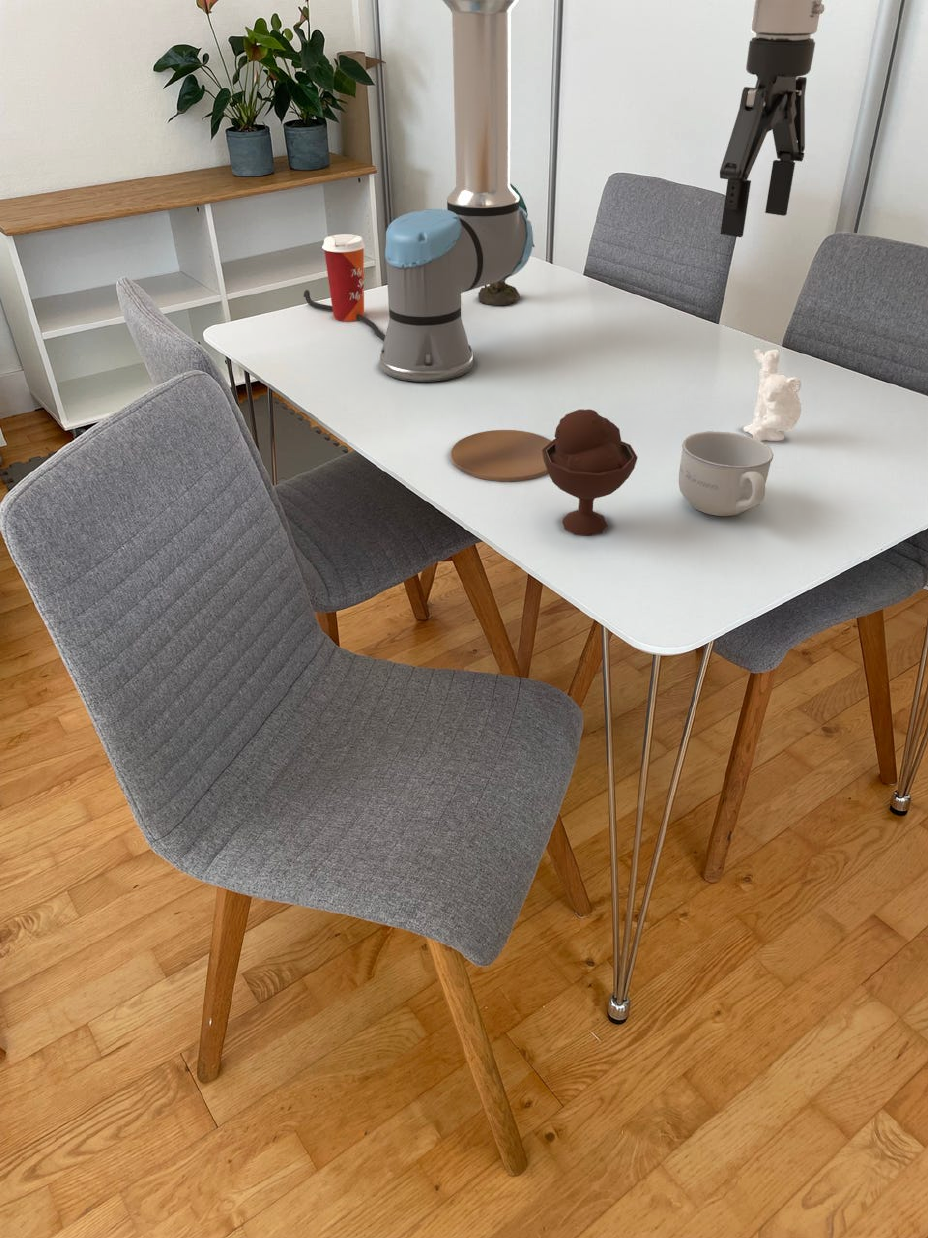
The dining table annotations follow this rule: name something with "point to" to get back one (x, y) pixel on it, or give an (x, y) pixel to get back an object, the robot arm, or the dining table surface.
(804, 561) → the dining table surface
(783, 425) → the koala figurine
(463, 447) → the brown round coaster
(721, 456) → the teacup
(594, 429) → the ice cream bowl
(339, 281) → the paper cup
